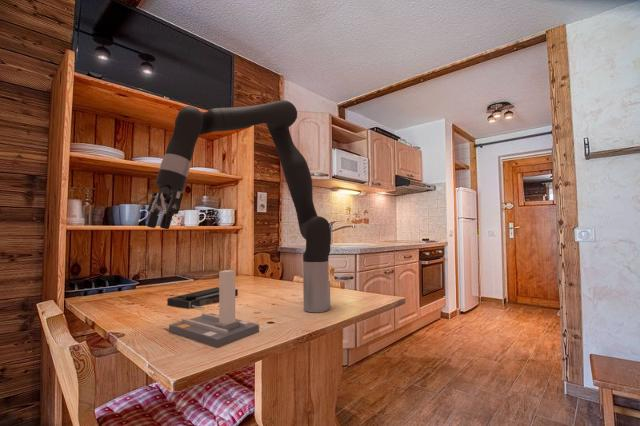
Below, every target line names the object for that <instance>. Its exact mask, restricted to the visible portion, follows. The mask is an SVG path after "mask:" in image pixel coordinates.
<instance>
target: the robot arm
mask: <svg viewBox="0 0 640 426" xmlns="http://www.w3.org/2000/svg"><path fill="white" fill-rule="evenodd" d="M297 119H298V110H297V107H296V106H295V105H294V103H292V102H291V101H289V100H285V99H282V100H276V101H272V102H268V103H263V104H255V105H247V106H235V107H215V108H210V109H208V110H207V111H205V112H201V111H200V109H198V108H197V107H195V106H192V105H186V106H184V107H182V108H181V109H179V111H178V112H177V115H176V117H175V119H174V128H173V132H172V135H171V138H170V140H169V141H168V143H167V147H166V149H165V154H164V156H163V158H162V160H161V163H160V166H159V169H158V172H157V176H156V179H155V181H154V185H155V186H156V187H158V188H159V190H158V192H157V191H153V192H152V195H151V197H150V201H149V204H148V207H147V209H146V211H147V212H148V213H149V216H148V220H147V223H146V227H147V228H151V229H155V228H156V227H157V223H158V220H159V218H160V214H161V213H162V211H163V214H162V217H161V221H160V225H159V228H160V229H164V230H169V228H170V226H171V223H172V221H173V217H174V216H175V215H176V214H179V212H180V209H181V204H182V200H183V196H184V193H183V192H184V189H185V186H186V183H187V179H188V176H189V174H190V167H191V162H192V159H193V155H194V151H195V147H196V143H197V141H198V140H199V139H198V138H199V136H202V135H206V134H210V133H214V132H227V131H228V132H229V131H237V130H243V129H246V128H249V127H253V126H257V125H263V124H266V126H267V127H266V128H267V129H268V131H269V133H270V137H271V139H272V142H273V144H274V145H275V149H276V152H277V156H278V158H279V162H280V166H281V168H282V172H283V175H284V178H285V182H286V185H287V188H288V191H289V194H290V197H291V200H292V202H293V205H294V209H295V213H296V218H297V222H298V227H299V232H300V235H301V236H302V238H303V239H304V240H305V250H304V252H303V254H302V272H303V273H302V275H303V276H302V280H303V281H302V283H303V285H302V286H303V291H302V292H303V311H305V312H308V313H323V312H327V311H329V310H330V308H331V282H330V277H329V275H330V274H329V273H330V272H329V268H330V267H329V262H330V261H329V256H330V253H331V242H332V241H331V239H332V238H331V235H332V234H331V226H330V223H329V221H328V220H327V219H326V218H325V217H323V216H320V215H319V216H318V213H317V211H316V207H315V205H314V200H313V179H312V175H311V172H310V168H309V165H308V162H307V160H306V158H305V157H304V156H303V154H302V153H301V152H300V151H299V149H298V148H297V147H296V146H295V144H294V142H293V139H292V136H291V132H290V127H291V126H292V125H294V124H295V122H296V120H297Z"/></svg>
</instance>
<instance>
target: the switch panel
mask: <svg viewBox="0 0 640 426" xmlns="http://www.w3.org/2000/svg"><path fill="white" fill-rule="evenodd" d="M235 320H237V321H239V327H237V328H234V329H231V330H226V329H222V328H219V327H215V323H218V322H219V314H215V313H211V312H210V313H205V312H203V313H201V315H200V316H196V317H193V318H189V319H188V318H185V317H184V318H181V321H179V322H175V323H170V324H169V325H168V332H169V333H171V334H175V335H178V336H180V337H184V338H186V339H190V340H192V341H196V342H197V343H198V342H199V343H202V344H204V345H206V346H207V345H208V346H210V347H213V348H217V349H218V348H220V347H223V346H225V345H228V344H230V343H233V342H236V341H238V340H241V339H243V338H246V337H249V336H251V335H254V334H257V333H259V332H260V324H258V323H254V322H249V321H246V320H241V319H237V318H235Z"/></svg>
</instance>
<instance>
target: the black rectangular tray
mask: <svg viewBox="0 0 640 426" xmlns="http://www.w3.org/2000/svg"><path fill="white" fill-rule="evenodd" d="M238 290H239V289H237V288H235V297H238V295H239V291H238ZM166 300H167V302H166V305H167V306H169V307H174V308H181V309H187V310H190V309H195V308H197V309H205V306H206V305H211V304H217V303H218V304H219V286H218V287H217V286H216V287H212V288H207V289H203V290H198V291H193V292H190V293H185V294H181V295H175V296H172V297H167V299H166Z"/></svg>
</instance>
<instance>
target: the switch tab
mask: <svg viewBox="0 0 640 426" xmlns="http://www.w3.org/2000/svg"><path fill="white" fill-rule="evenodd" d="M218 274H219V275H218V276H219V277H218V279H219V280H218V285H219V286H218V287H219V302H218V308H219V309H218V311H219V312H218V315H219V322H218V323H215V327H219V328H222V329H226V330H231V329H234V328H237V327H239V321H237V320H235V319H236V296H235V289H236V270H234V269H233V270H230V269H226V270H219V273H218Z"/></svg>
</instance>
